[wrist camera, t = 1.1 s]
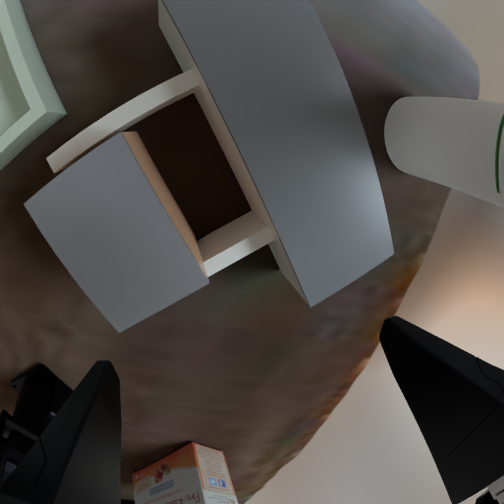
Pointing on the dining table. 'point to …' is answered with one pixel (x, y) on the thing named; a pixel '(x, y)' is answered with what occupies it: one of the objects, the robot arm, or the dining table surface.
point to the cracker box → (186, 478)
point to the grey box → (120, 232)
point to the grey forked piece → (271, 138)
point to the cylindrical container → (449, 143)
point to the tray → (22, 85)
